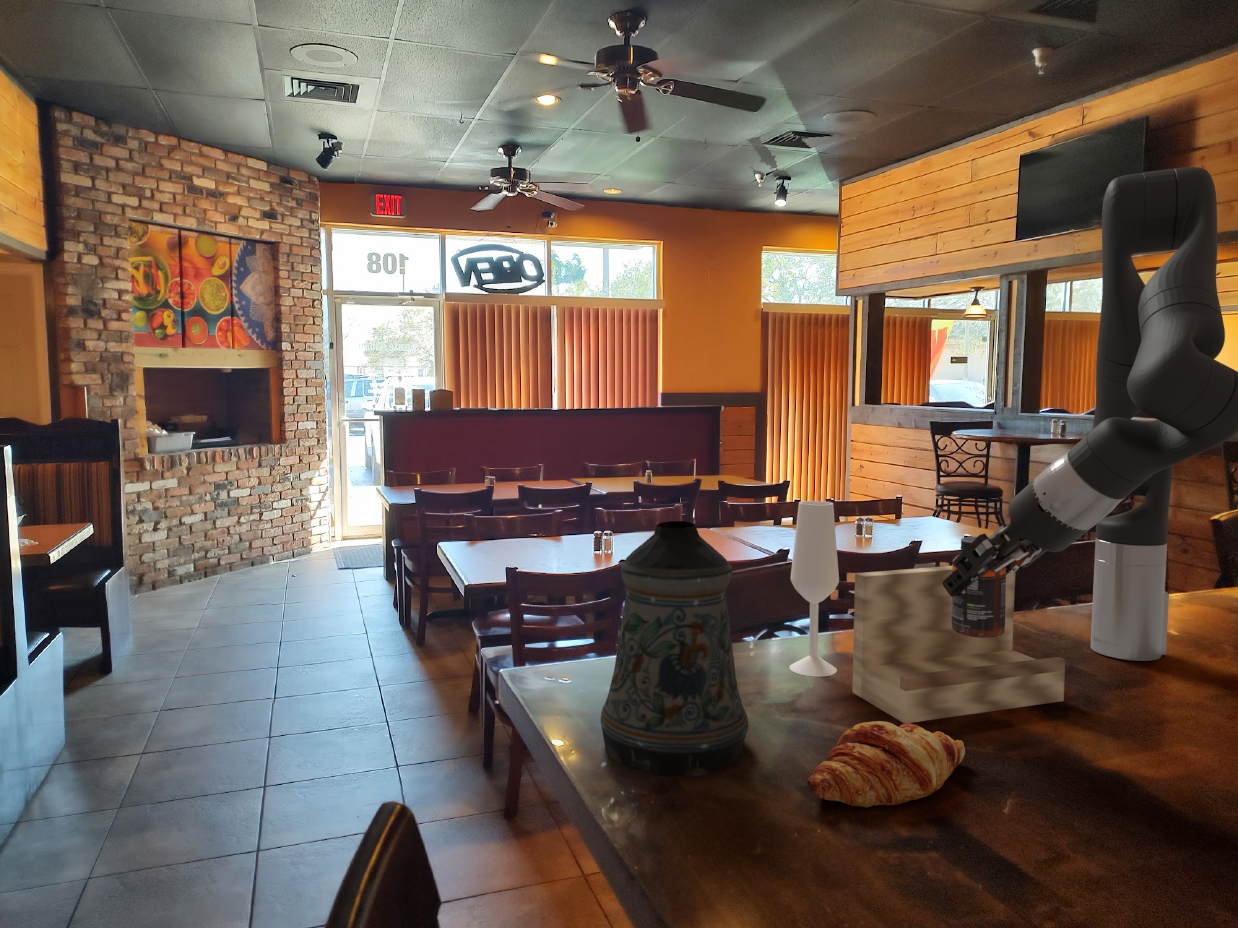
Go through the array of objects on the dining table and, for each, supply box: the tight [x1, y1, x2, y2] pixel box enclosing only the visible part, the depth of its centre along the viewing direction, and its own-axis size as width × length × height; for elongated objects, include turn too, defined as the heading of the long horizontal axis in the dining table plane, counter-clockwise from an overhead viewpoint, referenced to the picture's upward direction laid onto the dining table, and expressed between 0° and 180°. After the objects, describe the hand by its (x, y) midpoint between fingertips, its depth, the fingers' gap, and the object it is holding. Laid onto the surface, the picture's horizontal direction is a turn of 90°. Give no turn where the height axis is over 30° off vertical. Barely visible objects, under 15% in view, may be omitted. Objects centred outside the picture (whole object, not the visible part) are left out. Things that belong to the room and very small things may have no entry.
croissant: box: [806, 720, 966, 809], centre depth 85 cm, size 21×10×8 cm, turn 120°
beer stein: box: [600, 520, 750, 777], centre depth 95 cm, size 16×19×25 cm
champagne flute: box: [789, 500, 840, 677], centre depth 119 cm, size 7×7×24 cm
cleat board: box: [852, 565, 1066, 724], centre depth 108 cm, size 24×11×16 cm, turn 108°
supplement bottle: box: [951, 536, 1006, 638], centre depth 100 cm, size 6×6×11 cm
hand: (965, 585), depth 101 cm, fingers closed on supplement bottle, 6 cm apart
